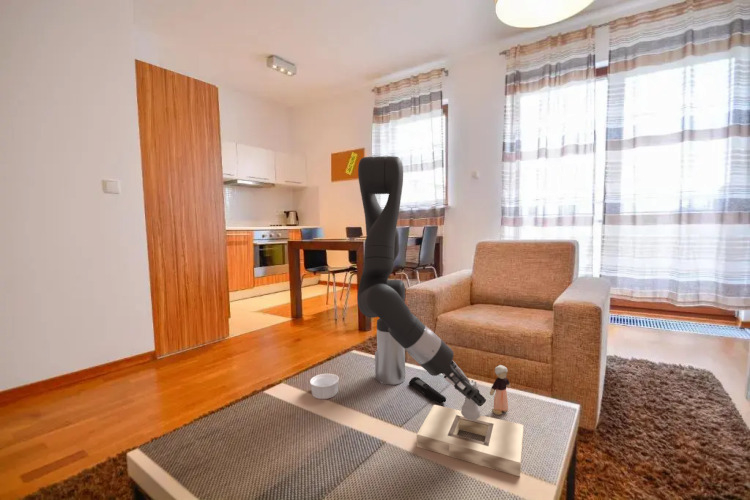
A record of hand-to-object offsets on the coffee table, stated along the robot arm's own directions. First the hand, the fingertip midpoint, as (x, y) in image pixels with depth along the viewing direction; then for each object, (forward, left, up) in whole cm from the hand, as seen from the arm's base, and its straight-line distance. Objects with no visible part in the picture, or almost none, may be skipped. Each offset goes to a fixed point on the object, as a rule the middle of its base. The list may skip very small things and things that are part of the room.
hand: (479, 398), depth 78 cm
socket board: (-2, -1, -11) cm, 11 cm away
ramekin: (-47, +4, -11) cm, 48 cm away
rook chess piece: (-2, -1, -4) cm, 5 cm away
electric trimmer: (-18, +17, -11) cm, 27 cm away
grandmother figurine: (+3, +16, -11) cm, 20 cm away
